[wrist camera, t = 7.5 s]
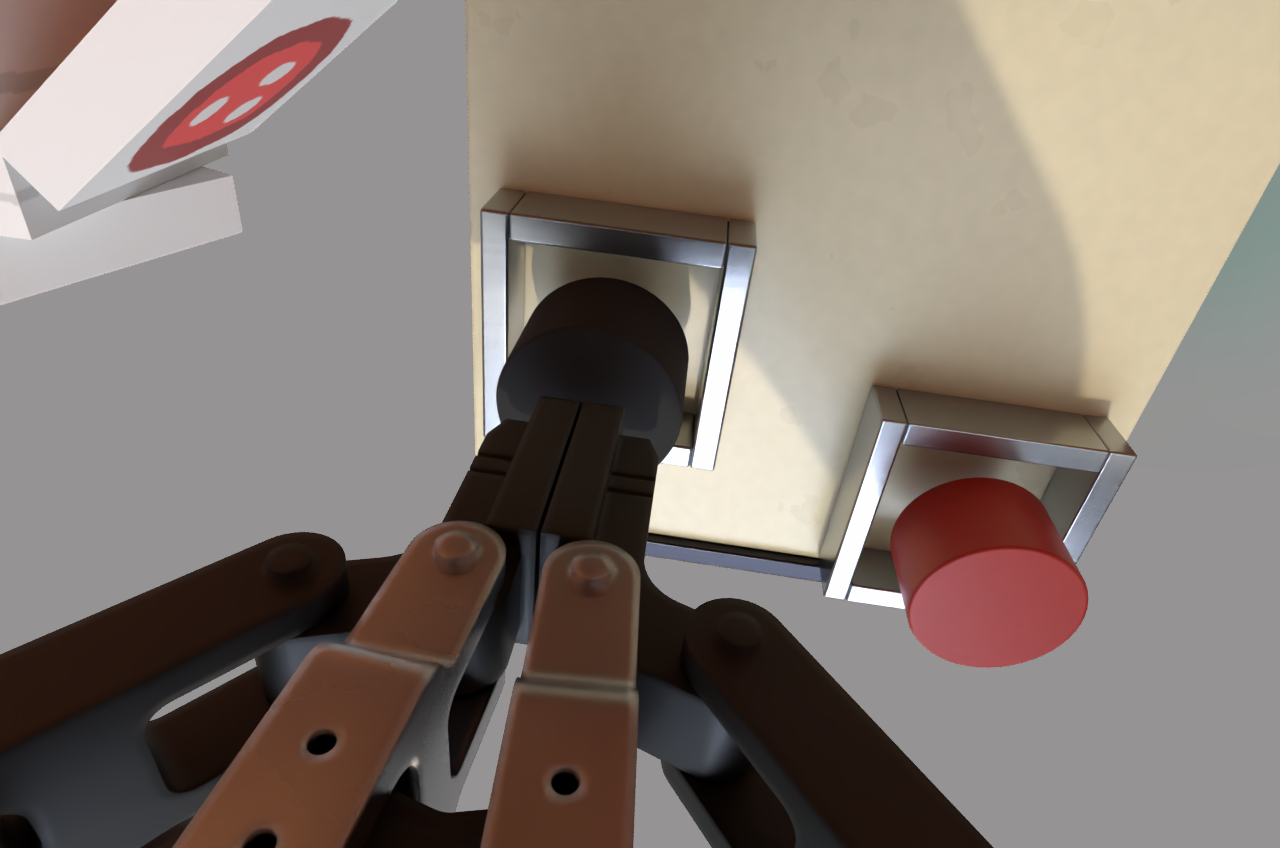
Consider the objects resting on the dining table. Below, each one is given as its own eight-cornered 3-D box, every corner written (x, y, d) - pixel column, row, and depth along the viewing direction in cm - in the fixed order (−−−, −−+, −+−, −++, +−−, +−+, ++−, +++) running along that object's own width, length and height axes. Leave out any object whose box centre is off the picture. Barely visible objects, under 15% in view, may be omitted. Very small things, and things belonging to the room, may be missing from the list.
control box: (378, -198, 12) (430, 557, 21) (1544, -61, 11) (1086, 658, 20) (530, -142, 21) (521, 372, 29) (1191, -63, 20) (980, 438, 29)
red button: (938, 535, 15) (887, 654, 17) (1120, 562, 15) (1048, 679, 17) (914, 465, 17) (872, 580, 19) (1075, 488, 17) (1015, 600, 19)
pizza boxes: (447, -129, 37) (459, 227, 47) (-135, -198, 38) (-5, 165, 48) (232, -177, 21) (317, 377, 31) (-755, -292, 22) (-371, 279, 32)
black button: (494, 313, 14) (495, 473, 16) (694, 341, 13) (669, 499, 15) (525, 264, 16) (523, 411, 18) (700, 288, 15) (677, 434, 17)
